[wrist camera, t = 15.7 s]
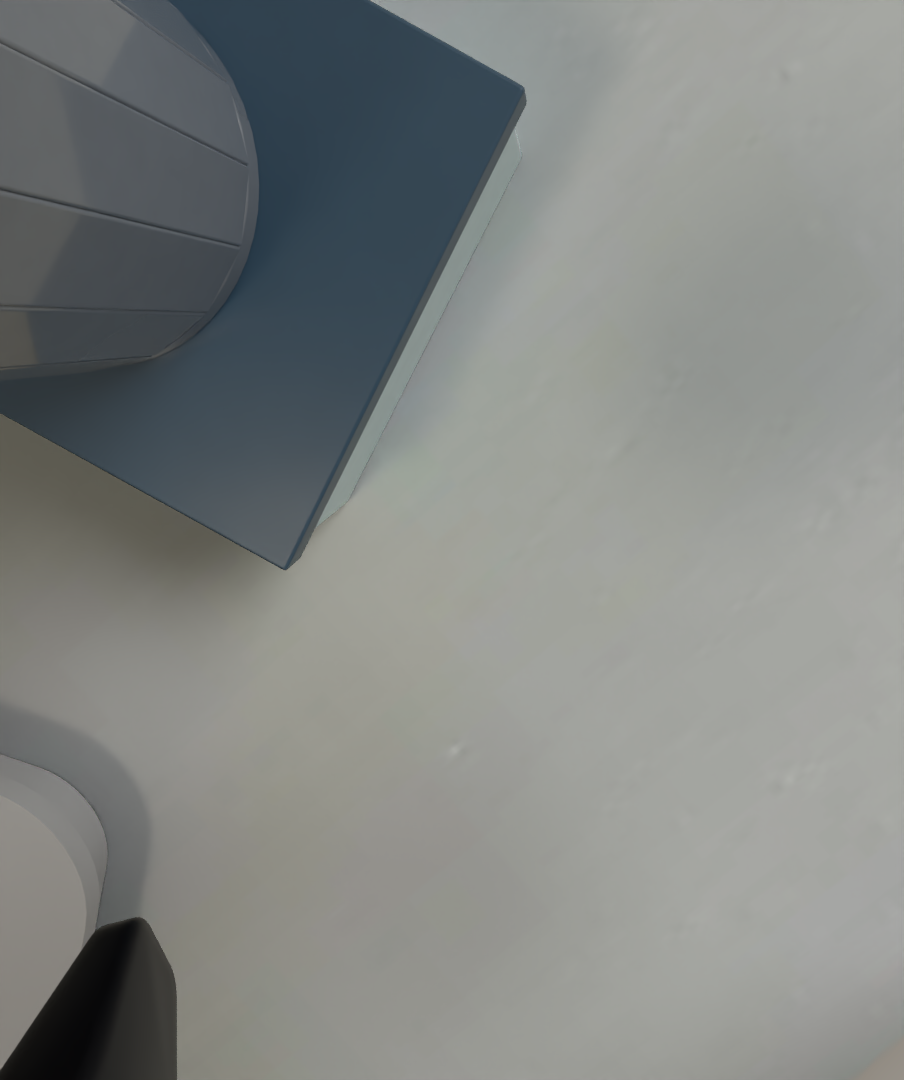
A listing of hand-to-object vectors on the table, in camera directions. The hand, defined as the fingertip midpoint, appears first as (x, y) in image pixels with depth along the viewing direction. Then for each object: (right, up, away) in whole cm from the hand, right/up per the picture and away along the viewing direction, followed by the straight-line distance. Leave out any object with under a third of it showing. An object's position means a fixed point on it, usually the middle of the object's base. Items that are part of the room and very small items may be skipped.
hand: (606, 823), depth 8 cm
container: (-7, +10, +11) cm, 17 cm away
